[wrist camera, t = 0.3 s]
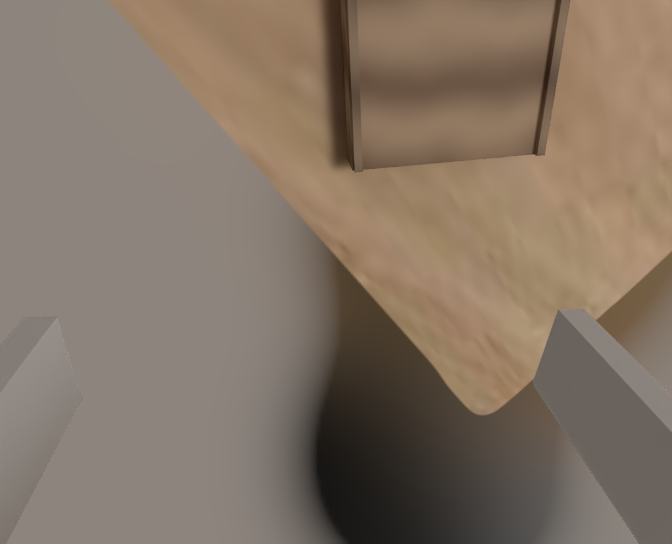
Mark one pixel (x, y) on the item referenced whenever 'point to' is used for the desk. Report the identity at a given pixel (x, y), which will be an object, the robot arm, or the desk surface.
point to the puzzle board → (449, 78)
